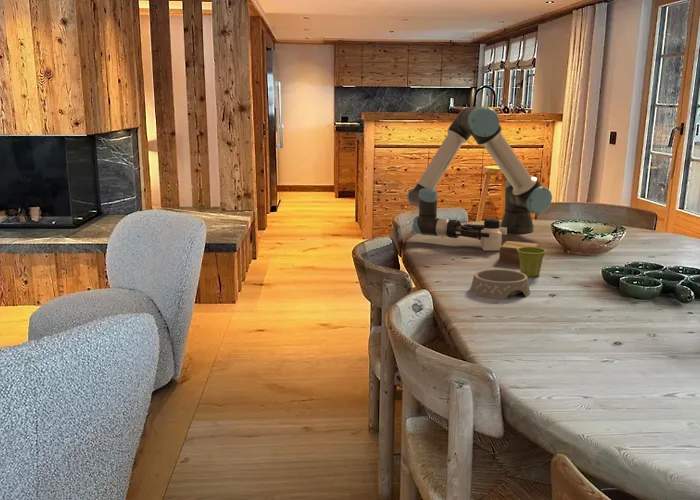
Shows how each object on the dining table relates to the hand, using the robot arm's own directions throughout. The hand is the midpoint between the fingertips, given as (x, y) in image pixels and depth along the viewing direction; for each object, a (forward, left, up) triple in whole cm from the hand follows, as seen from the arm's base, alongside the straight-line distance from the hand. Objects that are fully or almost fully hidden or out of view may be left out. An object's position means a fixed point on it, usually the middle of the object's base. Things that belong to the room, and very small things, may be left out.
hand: (502, 233), depth 244 cm
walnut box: (+6, +16, -7) cm, 19 cm away
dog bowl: (+38, +41, -7) cm, 56 cm away
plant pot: (+16, +32, -7) cm, 37 cm away
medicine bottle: (+2, -4, -7) cm, 8 cm away
